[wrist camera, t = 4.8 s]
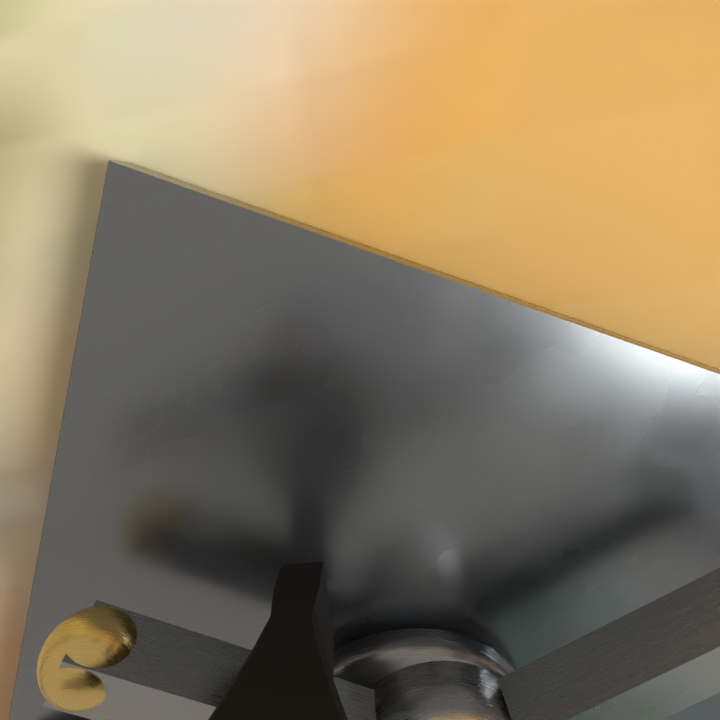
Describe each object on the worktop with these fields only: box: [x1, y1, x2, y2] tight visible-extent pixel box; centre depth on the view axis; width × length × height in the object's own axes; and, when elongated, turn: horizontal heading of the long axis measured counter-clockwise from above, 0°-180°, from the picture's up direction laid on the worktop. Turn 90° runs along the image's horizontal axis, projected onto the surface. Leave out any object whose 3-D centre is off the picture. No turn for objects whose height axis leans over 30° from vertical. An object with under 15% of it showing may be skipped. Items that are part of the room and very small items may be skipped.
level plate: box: [9, 161, 720, 720], centre depth 13 cm, size 20×20×2 cm
